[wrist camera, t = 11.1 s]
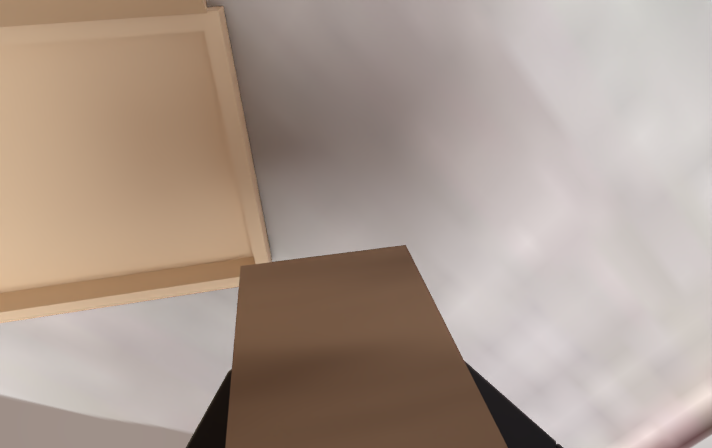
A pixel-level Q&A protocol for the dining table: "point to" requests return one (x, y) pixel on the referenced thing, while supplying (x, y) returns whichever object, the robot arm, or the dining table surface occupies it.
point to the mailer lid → (91, 10)
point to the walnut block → (349, 359)
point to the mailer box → (122, 164)
